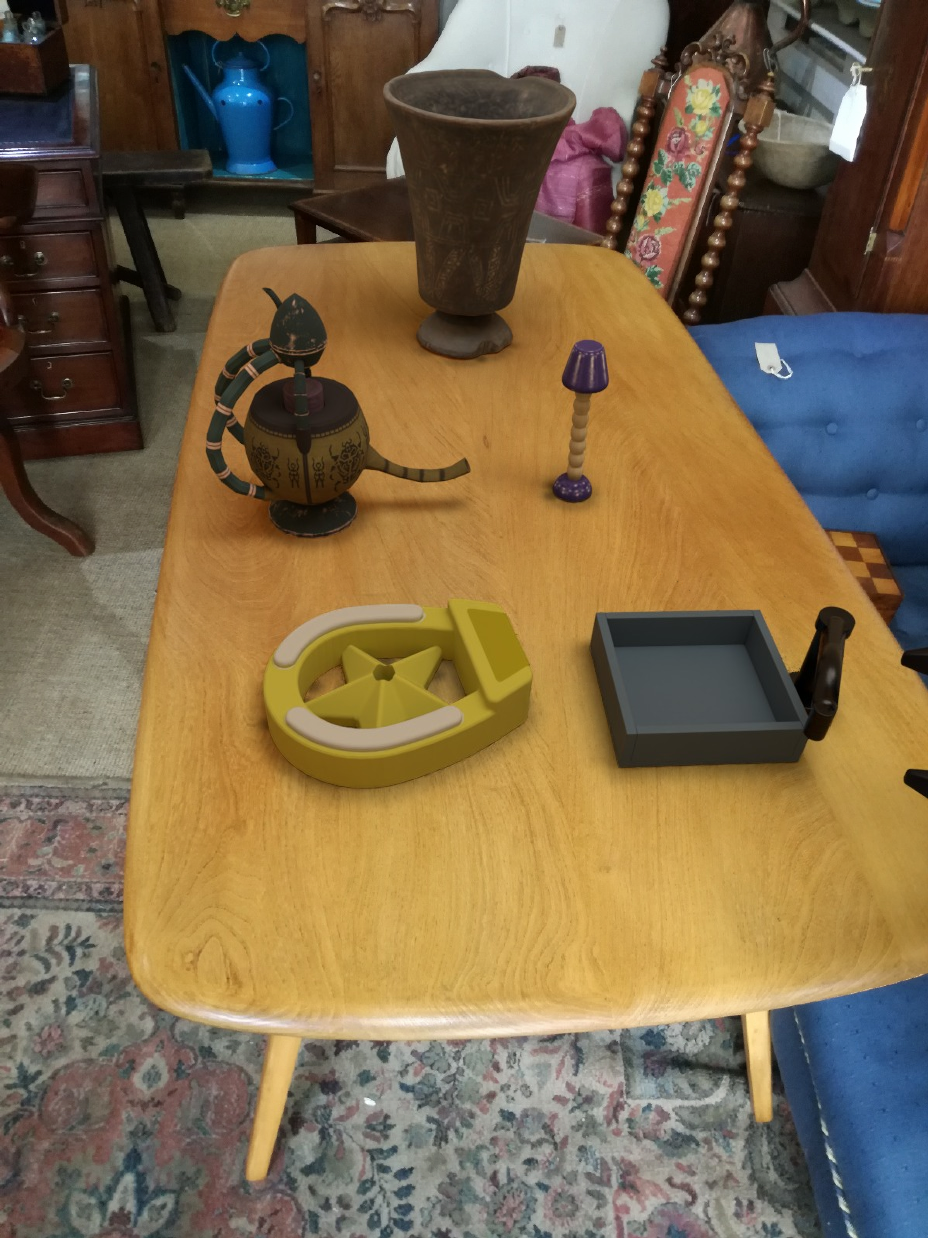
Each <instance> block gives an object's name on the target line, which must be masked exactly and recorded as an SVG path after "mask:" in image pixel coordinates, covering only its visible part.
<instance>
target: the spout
mask: <svg viewBox="0 0 928 1238" xmlns="http://www.w3.org/2000/svg"><path fill="white" fill-rule="evenodd" d="M855 627H856V619H855V617H854V616H853V614H852V613H851V612H850V611H848V610H846V609H845V608H842V607H839V606H832V605H831V606H825V607H823V608H821V609H820V610H819V612H818V614H817V617H816V619H815V621H814V629H815V632H816V631H817V632H818V633H819V634H820V635H821V639H820V646H819V653H818V660H817V667H816V674H815V681H814V688H813V695H812V702H811V709H812V710H811V712H810V714H809V716H808V719H807V721H806V723H805V725H804V728H803V733H804V735H805V736H806V737H807V738H808V739H809V740H810V741H813V742H821V741H823V740H825V738H826V736H827V734H828V732H829V730H830V728H831V726H832V723H833V721H834V719H835V717H836V715H837V712H838V708H839V701H840V692H841V691H840V690H841V681H842V674H843V664H844V658H845V657H844V656H845V648H846V640H848V639H850V638H851V635H852V633H853V631H854V628H855Z"/></svg>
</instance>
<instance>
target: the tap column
mask: <svg viewBox="0 0 928 1238" xmlns="http://www.w3.org/2000/svg"><path fill="white" fill-rule="evenodd" d="M820 639H821V635H820V634H819V633H818V632H817V631H816V630H815V631H814V634H813V637H812V640H811V641H810V644H809V647H808V649H807V651H806V654H805V657H804V658H803V661H802V664H801V666H800V669H799V671H791V672H788V673H789V675H790V677H791V680H792V682H793V684H794V686H795V689H796V691H797V693H798V695H799V697H800V700H801V702H802V704H803V706H804V709H805V711H806V713H807V715H808V716H809V714H810V712H811V710H812V709H811V702H812V695H813V688H814V681H815V674H816V667H817V660H818V653H819V646H820Z"/></svg>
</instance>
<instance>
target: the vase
mask: <svg viewBox="0 0 928 1238" xmlns="http://www.w3.org/2000/svg"><path fill="white" fill-rule="evenodd" d="M382 98H383V102H384V105H385V107H386V111H387V115H388V117H389V119H390V122H391V124H392V127H393V130H394V134H395V137H396V141H397V145H398V150H399V155H400V159H401V163H402V168H403V173H404V177H405V182H406V186H407V192H408V199H409V206H410V213H411V218H412V227H413V233H414V246H415V258H416V259H415V260H416V275H417V276H416V277H417V287H418V289H417V290H418V295H419V297H420V299H421V300H422V301H423V302H424V303H425V304H426V305H428V306H429V307H431V308H432V309H435V310H434V311H433V312H432V313H430V314H429V315H427V316H426V317H425V318H424V319H423V320H422V321H421V322H420V324H419V326H418V330H417V332H416V339H417V341H418V343H419V344H420V345H421V346H422V347H424V348H426V349H428V350H429V351H431V352H433V353H435V354H438V355H441V356H444V357H450V358H455V359H473V358H476V357H478V356H482V355H485V354H491V353H497V352H501V351H502V350H503V349H504V348H506V347H508V346H509V345H511V343H513V339H514V335H513V331H512V329H511V327H510V325H509V323H508V322H507V321H506V320H505V319H504V318H503V317H502V316H501V315H500V314H499V313H497V312H498V311H499V312H500V311H501V310H504V309H505V308H507V307H508V306H509V305H510V304H511V303H512V302H513V299H514V297H515V292H516V289H517V284H518V279H519V275H520V270H521V264H522V259H523V255H524V250H525V247H526V246H525V245H526V242H527V238H528V235H529V231H530V226H531V222H532V218H533V214H534V211H535V208H536V205H537V202H538V199H539V195H540V192H541V188H542V185H543V183H544V179H545V177H546V174H547V172H548V169H549V167H550V164H551V163H552V159H553V156H554V155H555V152H556V149H557V146H558V144H559V142H560V140H561V137H562V135H563V133H564V131H565V130H566V128H567V126H568V125H569V123H570V121H571V118H572V116H573V114H574V113H575V110H576V107H577V95H576V94H575V92H574V91H573V90H572V89H571V88H569V87H567V86H566V85H564V84H562V83H560V82H558V81H556V80H553V79H550V78H547V77H543V76H536V75H528V76H524V77H520V78H514V79H513V78H509V77H506V76H503V75H502V74H499V73H498V72H496V71H495V70H490V69H485V68H456V69H455V68H454V69H445V68H444V69H438V70H437V69H436V70H425V71H419V72H409V73H405V74H401V75H398V76H395V77H393V78H391V79H389V81H386V83H384V86H383V89H382Z"/></svg>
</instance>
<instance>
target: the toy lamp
mask: <svg viewBox="0 0 928 1238" xmlns="http://www.w3.org/2000/svg"><path fill="white" fill-rule="evenodd" d="M607 361H608V360H607V355H606V348H605V346H604V345H603V344H602V343H601V342H600V341H598V340H595V339H581V340H578V341H576V342H575V343H574V345H573V347H572V348H571V350H570V354H569V356H568V358H567V361H566V364H565V366H564V369H563V371H562V374H561V383H562V386H563V387H565V388H566V389H567V390H569V391H571V392H574V396H575V398H574V400H573V405H572V407H573V413H572V416H571V423H572V425H571V427H570V431H569V435H570V439H569V443H568V449H569V452H568V456H567V461H568V465H567V467H566V472H563V473H561V474H560V475H558V476H557V477H556V479H555V480H554V482H553V484H552V492H553V494H554V496H556V497H557V498H558V499H560V500H561V501H565V502H570V503H576V502H582V501H585V500H587V499H589V498H590V497H591V496H592V493H593V486H592V483H591V481H590V479H589V478H588V477H587V476H586V475H585V474H583V473H584V466H583V465H584V463H585V451H586V448H587V441H586V438H587V436H588V427H587V426H588V423H589V420H590V416H589V412H590V409H591V405H592V403H591V397H592V395H594V394H598V393H601V392H603V391H604V390H606V389H607V388H608V386H609V383H610V376H609V375H610V374H609V369H608V368H609V367H608V362H607Z"/></svg>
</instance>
